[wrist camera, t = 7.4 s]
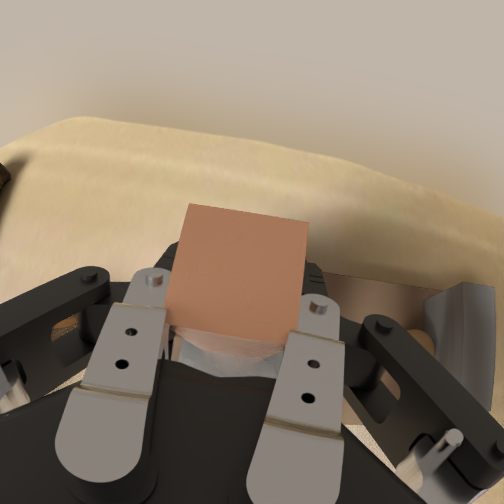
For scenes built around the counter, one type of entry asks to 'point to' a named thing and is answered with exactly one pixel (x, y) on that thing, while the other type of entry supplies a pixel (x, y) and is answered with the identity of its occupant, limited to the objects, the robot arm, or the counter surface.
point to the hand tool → (4, 175)
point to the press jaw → (236, 290)
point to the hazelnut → (423, 340)
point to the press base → (366, 305)
